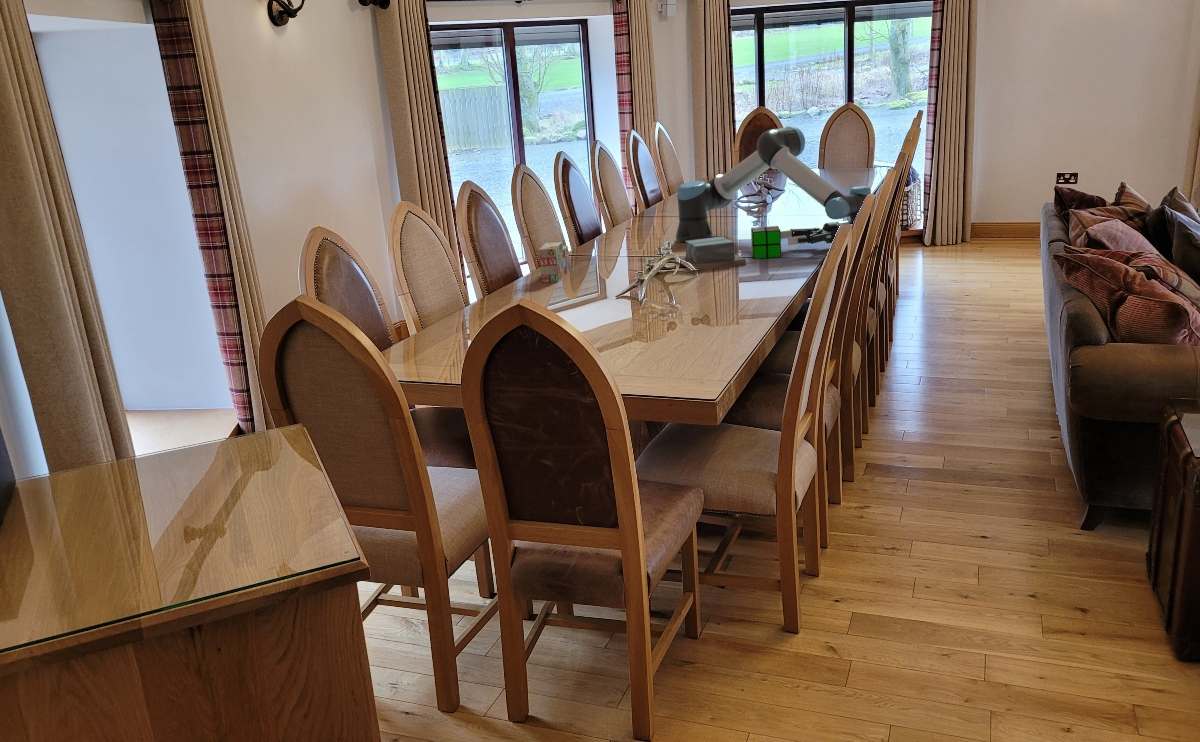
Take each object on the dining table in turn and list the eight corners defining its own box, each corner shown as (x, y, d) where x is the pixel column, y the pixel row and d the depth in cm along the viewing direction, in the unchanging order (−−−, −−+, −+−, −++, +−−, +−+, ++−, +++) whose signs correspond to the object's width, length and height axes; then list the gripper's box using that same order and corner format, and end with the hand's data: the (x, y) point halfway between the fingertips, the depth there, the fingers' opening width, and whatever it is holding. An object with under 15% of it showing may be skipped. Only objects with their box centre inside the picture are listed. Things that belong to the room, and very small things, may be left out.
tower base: (676, 261, 345) (675, 240, 343) (728, 255, 348) (727, 234, 346) (691, 271, 326) (690, 248, 324) (745, 264, 329) (745, 242, 327)
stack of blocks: (554, 270, 349) (550, 238, 345) (570, 270, 348) (567, 237, 344) (541, 283, 329) (538, 248, 325) (559, 282, 328) (555, 247, 324)
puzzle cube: (778, 252, 347) (778, 225, 344) (781, 257, 337) (780, 230, 334) (751, 254, 348) (750, 227, 345) (753, 259, 338) (752, 231, 335)
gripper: (850, 247, 334) (794, 254, 330) (822, 237, 357) (769, 243, 354) (850, 226, 332) (794, 233, 328) (821, 217, 355) (768, 223, 352)
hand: (781, 238), depth 341 cm, fingers open, 13 cm apart
